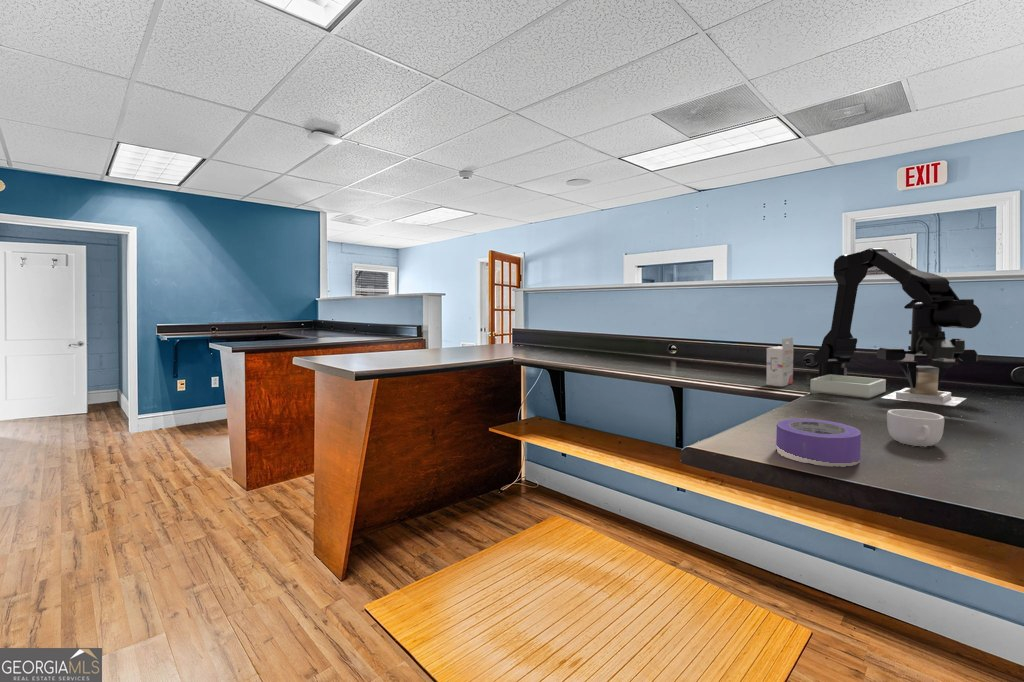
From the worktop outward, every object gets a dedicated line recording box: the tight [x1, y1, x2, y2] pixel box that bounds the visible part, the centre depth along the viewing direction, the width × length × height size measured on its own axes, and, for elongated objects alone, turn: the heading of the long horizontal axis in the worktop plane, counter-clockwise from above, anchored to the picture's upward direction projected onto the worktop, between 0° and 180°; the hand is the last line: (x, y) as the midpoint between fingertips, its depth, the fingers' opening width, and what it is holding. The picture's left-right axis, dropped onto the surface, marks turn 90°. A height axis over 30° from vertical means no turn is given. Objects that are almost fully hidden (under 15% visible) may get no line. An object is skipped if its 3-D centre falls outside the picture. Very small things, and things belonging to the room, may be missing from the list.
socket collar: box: [880, 387, 967, 407], centre depth 118 cm, size 14×14×2 cm
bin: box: [809, 374, 887, 399], centre depth 129 cm, size 14×14×4 cm
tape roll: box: [775, 418, 862, 463], centre depth 77 cm, size 12×12×5 cm
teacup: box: [886, 408, 945, 447], centre depth 82 cm, size 10×8×5 cm
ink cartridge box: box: [766, 336, 795, 388], centre depth 145 cm, size 9×5×15 cm, turn 129°
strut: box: [909, 365, 939, 396], centre depth 118 cm, size 4×4×8 cm
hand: (923, 387), depth 118 cm, fingers closed on strut, 4 cm apart
